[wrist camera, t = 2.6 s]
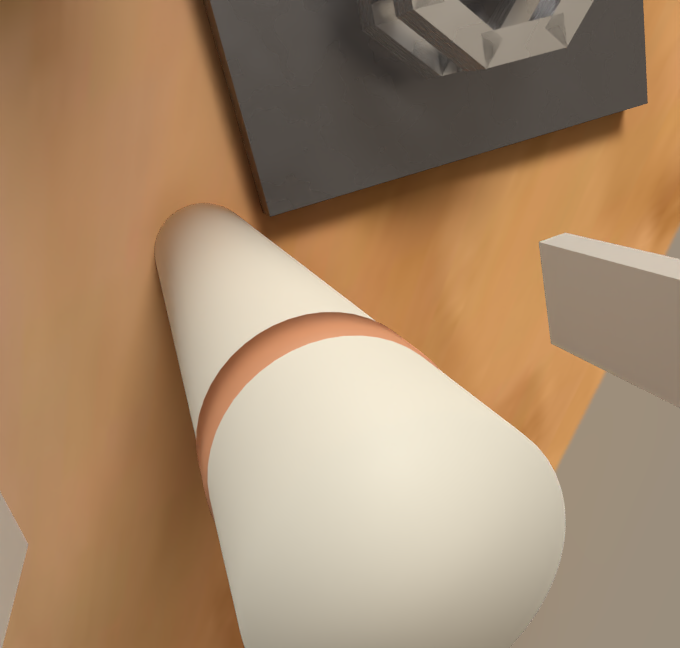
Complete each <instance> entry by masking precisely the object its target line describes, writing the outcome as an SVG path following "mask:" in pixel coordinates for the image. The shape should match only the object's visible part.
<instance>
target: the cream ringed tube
mask: <svg viewBox="0 0 680 648" xmlns="http://www.w3.org/2000/svg"><path fill="white" fill-rule="evenodd" d="M155 261H156V266H157V270H158V274H159V279H160V283H161V288H162V292H163V296H164V301H165V305H166V309H167V314H168V318H169V323H170V327H171V331H172V336H173V340H174V344H175V349H176V353H177V358H178V362H179V366H180V371H181V375H182V379H183V384H184V388H185V393H186V397H187V401H188V406H189V410H190V414H191V419H192V423H193V428H194V432H195V436H196V449H197V456H198V463H199V467H200V472H201V477H202V481H203V486H204V490H205V495H206V499H207V503H208V506H209V509H210V513H211V515H212V517H213V519H214V521H215V524H216V528H217V533H218V537H219V541H220V546H221V550H222V555H223V559H224V563H225V568H226V572H227V576H228V581H229V585H230V590H231V594H232V598H233V603H234V607H235V611H236V616H237V620H238V625H239V629H240V633H241V637H242V640H243V644H244V647H245V648H510V647H511V646H512V645H513V643H514V642H515V641H516V640H517V639H518V638H519V636H520V635H521V634H522V633H523V632H524V630H525V629H526V627H527V626H528V625H529V623H530V622H531V621H532V619H533V618H534V616H535V615H536V614H537V612H538V610H539V608H540V607H541V605H542V603H543V601H544V599H545V598H546V596H547V594H548V592H549V589H550V587H551V585H552V582H553V580H554V578H555V575H556V572H557V569H558V566H559V563H560V560H561V555H562V550H563V545H564V538H565V526H566V520H565V505H564V500H563V495H562V490H561V487H560V484H559V481H558V479H557V476H556V473H555V472H554V470H553V468H552V466H551V464H550V463H549V461H548V459H547V458H546V457H545V455H544V454H543V453H542V452H541V450H540V449H539V448H538V447H537V446H536V445H535V444H534V443H533V442H532V441H531V440H529V439H528V438H527V437H526V436H525V435H524V434H522V433H521V432H520V431H518V430H517V429H516V428H515V427H513V426H512V425H511V424H509V423H508V422H507V421H505V420H504V419H503V418H502V417H500V416H499V415H498V414H496V413H495V412H494V411H492V410H491V409H490V408H488V407H487V406H486V405H485V404H483V403H482V402H481V401H479V400H478V399H477V398H475V397H474V396H473V395H471V394H470V393H469V392H468V391H466V390H465V389H464V388H462V387H461V386H460V385H458V384H457V383H456V382H455V381H453V380H452V379H451V378H449V377H448V376H447V375H445V374H444V373H443V372H441V371H440V370H439V368H438V367H437V366H436V365H435V364H434V363H433V362H432V361H431V360H430V359H429V358H428V357H426V356H425V355H424V354H423V353H422V352H420V351H419V350H418V349H416V348H415V347H414V346H412V345H411V344H410V343H408V342H407V341H406V340H404V339H403V338H402V337H400V336H399V335H398V334H396V333H395V332H394V331H392V330H391V329H389V328H387V327H386V326H384V325H383V324H381V323H378V322H376V321H375V320H374V319H372V318H371V317H370V316H368V315H367V314H366V313H364V312H363V311H362V310H361V309H359V308H358V307H357V306H355V305H354V304H353V303H351V302H350V301H349V300H347V299H346V298H345V297H344V296H342V295H341V294H340V293H338V292H337V291H336V290H334V289H333V288H332V287H331V286H329V285H328V284H327V283H325V282H324V281H323V280H321V279H320V278H319V277H317V276H316V275H315V274H314V273H312V272H311V271H310V270H308V269H307V268H306V267H304V266H303V265H302V264H300V263H299V262H298V261H297V260H295V259H294V258H293V257H291V256H290V255H289V254H287V253H286V252H285V251H284V250H282V249H281V248H280V247H278V246H277V245H276V244H274V243H273V242H272V241H270V240H269V239H268V238H267V237H265V236H264V235H263V234H261V233H260V232H259V231H257V230H256V229H255V228H253V227H252V226H251V225H250V224H248V223H247V222H246V221H244V220H243V219H242V218H240V217H239V216H238V215H237V214H235V213H234V212H232V211H231V210H229V209H227V208H225V207H223V206H219V205H216V204H210V203H199V204H193V205H189V206H186V207H184V208H182V209H180V210H178V211H176V212H175V213H174V214H172V215H171V216H170V217H169V218H168V219H167V220H166V221H165V223H164V224H163V225H162V227H161V229H160V231H159V233H158V235H157V238H156V242H155Z"/></svg>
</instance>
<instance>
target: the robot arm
mask: <svg viewBox="0 0 680 648" xmlns="http://www.w3.org/2000/svg"><path fill="white" fill-rule="evenodd" d="M539 248H540V256H541V264H542V273H543V281H544V289H545V298H546V306H547V314H548V322H549V331H550V339H551V344H553V345H555V346H557V347H559V348H561V349H563V350H565V351H567V352H569V353H571V354H573V355H575V356H577V357H579V358H581V359H583V360H585V361H587V362H589V363H591V364H593V365H595V366H597V367H599V368H601V369H603V370H605V371H607V372H609V373H611V374H613V375H615V376H617V377H619V378H621V379H623V380H625V381H627V382H629V383H631V384H633V385H635V386H637V387H639V388H641V389H643V390H645V391H647V392H649V393H651V394H653V395H655V396H657V397H659V398H661V399H663V400H665V401H667V402H669V403H671V404H673V405H675V406H677V407H679V408H680V259H677V258H672V257H668V256H664V255H659V254H655V253H651V252H646V251H642V250H638V249H633V248H629V247H625V246H620V245H616V244H612V243H607V242H603V241H599V240H594V239H590V238H586V237H581V236H577V235H573V234H568V233H563V234H561V235H558V236H555V237H552V238H549V239H546V240H543V241H540V242H539ZM27 547H28V543H27V541H26V539H25V537H24V535H23V533H22V532H21V530H20V528H19V526H18V524H17V522H16V520H15V518H14V517H13V515H12V513H11V511H10V509H9V507H8V505H7V503H6V502H5V500H4V498H3V496H2V494H1V492H0V648H2V646H3V642H4V638H5V634H6V631H7V627H8V623H9V619H10V615H11V611H12V607H13V603H14V599H15V595H16V591H17V587H18V583H19V579H20V575H21V571H22V567H23V563H24V559H25V555H26V551H27Z"/></svg>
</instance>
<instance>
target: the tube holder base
mask: <svg viewBox="0 0 680 648" xmlns="http://www.w3.org/2000/svg"><path fill="white" fill-rule="evenodd" d="M203 2H204V5H205V9H206V12H207V16H208V19H209V23H210V26H211V30H212V33H213V37H214V40H215V44H216V47H217V51H218V54H219V58H220V62H221V65H222V69H223V72H224V76H225V79H226V83H227V86H228V90H229V93H230V97H231V100H232V104H233V107H234V111H235V114H236V118H237V121H238V125H239V129H240V132H241V136H242V139H243V143H244V146H245V150H246V153H247V157H248V160H249V164H250V167H251V171H252V174H253V178H254V181H255V185H256V188H257V192H258V196H259V199H260V203H261V206H262V210H263V212H264V213H265V214H267V215H268V216H270V217H271V216H274V215H277V214H281V213H284V212H287V211H291V210H294V209H297V208H301V207H304V206H307V205H311V204H314V203H317V202H321V201H324V200H327V199H331V198H334V197H337V196H341V195H344V194H347V193H351V192H354V191H357V190H361V189H364V188H367V187H371V186H374V185H377V184H381V183H384V182H387V181H390V180H394V179H397V178H400V177H404V176H407V175H410V174H414V173H417V172H420V171H424V170H427V169H430V168H434V167H437V166H440V165H444V164H447V163H450V162H454V161H457V160H460V159H464V158H467V157H470V156H474V155H477V154H480V153H484V152H487V151H490V150H494V149H497V148H500V147H504V146H507V145H510V144H514V143H517V142H520V141H524V140H527V139H530V138H534V137H537V136H540V135H544V134H547V133H550V132H554V131H557V130H560V129H563V128H567V127H570V126H573V125H577V124H580V123H583V122H587V121H590V120H593V119H597V118H600V117H603V116H607V115H610V114H613V113H617V112H620V111H623V110H627V109H630V108H633V107H637V106H640V105H643V104H647V103H648V102H647V79H646V57H645V35H644V12H643V0H203Z"/></svg>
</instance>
